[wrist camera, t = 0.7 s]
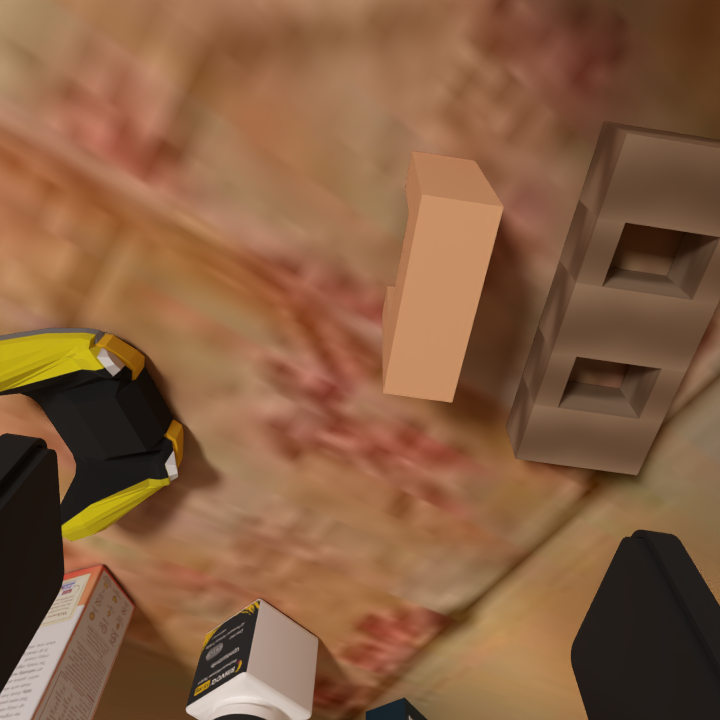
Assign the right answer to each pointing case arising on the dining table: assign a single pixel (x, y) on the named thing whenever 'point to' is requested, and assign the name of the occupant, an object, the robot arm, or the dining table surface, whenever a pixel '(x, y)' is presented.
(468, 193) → the peach block
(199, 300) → the dining table surface
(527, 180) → the dining table surface
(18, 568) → the robot arm
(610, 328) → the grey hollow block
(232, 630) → the medicine bottle
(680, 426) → the dining table surface
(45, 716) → the cracker box
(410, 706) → the watch
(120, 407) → the gaming controller
